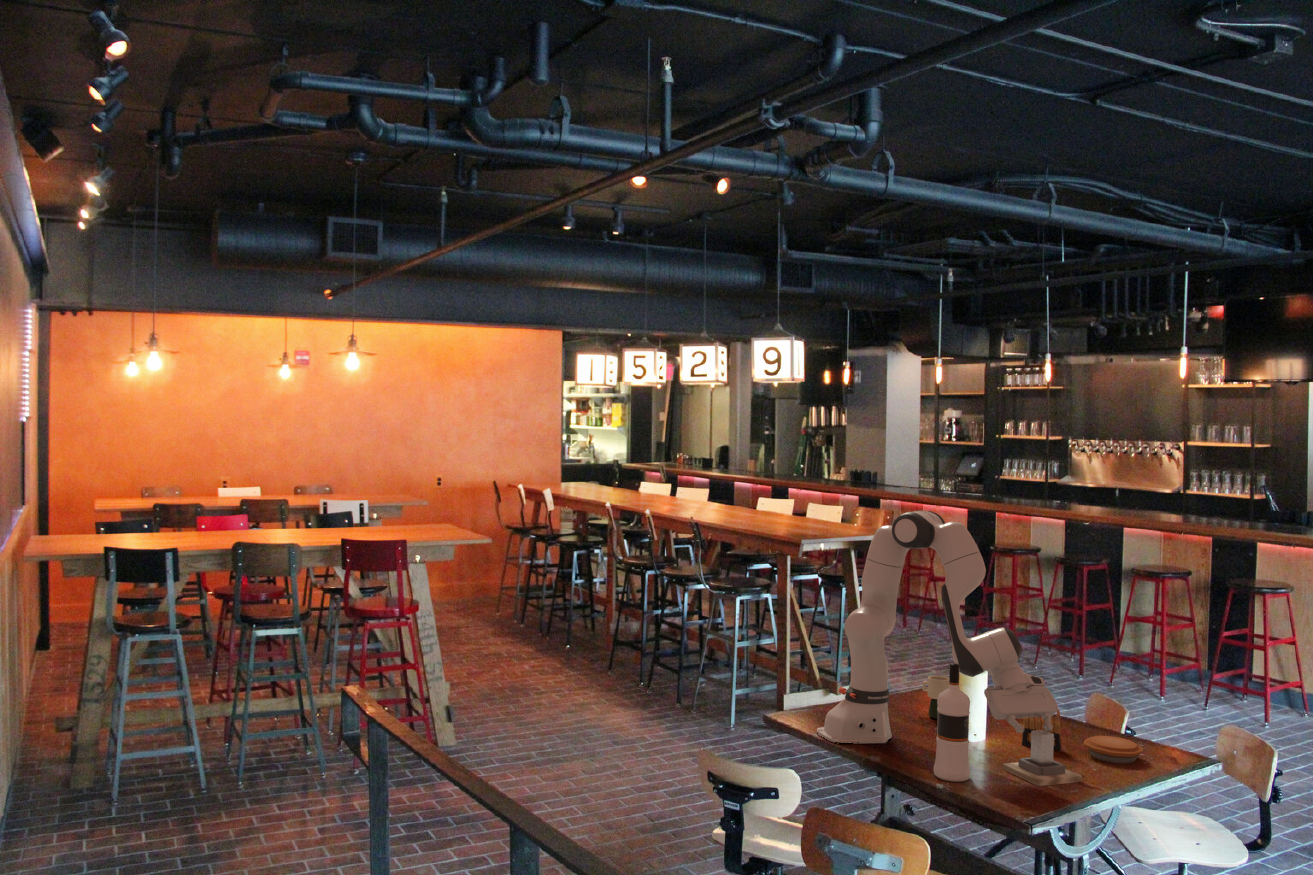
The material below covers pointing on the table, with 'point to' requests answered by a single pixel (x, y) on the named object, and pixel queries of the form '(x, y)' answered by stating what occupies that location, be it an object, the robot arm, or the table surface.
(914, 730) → the table surface
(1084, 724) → the table surface
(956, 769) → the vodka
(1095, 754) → the pie
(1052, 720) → the ammunition clip
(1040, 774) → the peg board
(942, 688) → the character mug
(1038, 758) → the grey rectangular block
